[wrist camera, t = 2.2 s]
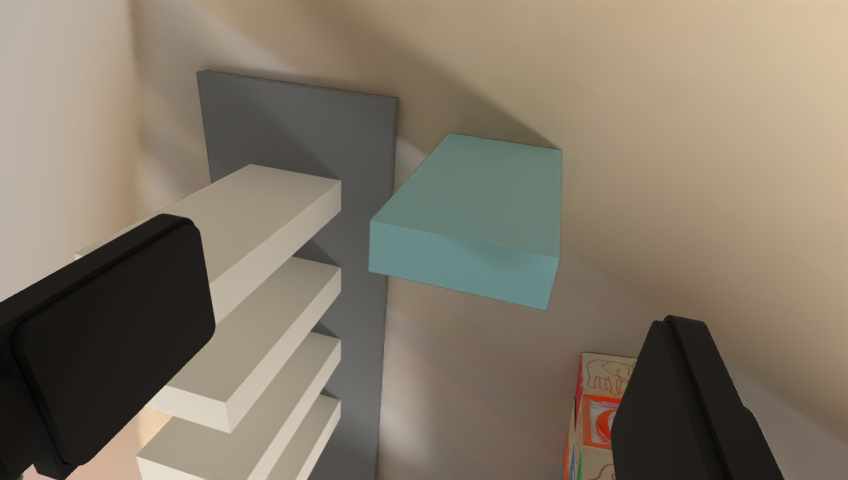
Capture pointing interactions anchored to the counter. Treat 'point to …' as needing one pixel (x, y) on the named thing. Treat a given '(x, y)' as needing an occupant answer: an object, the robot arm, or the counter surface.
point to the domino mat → (337, 240)
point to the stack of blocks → (595, 416)
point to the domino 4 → (308, 441)
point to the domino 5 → (476, 221)
